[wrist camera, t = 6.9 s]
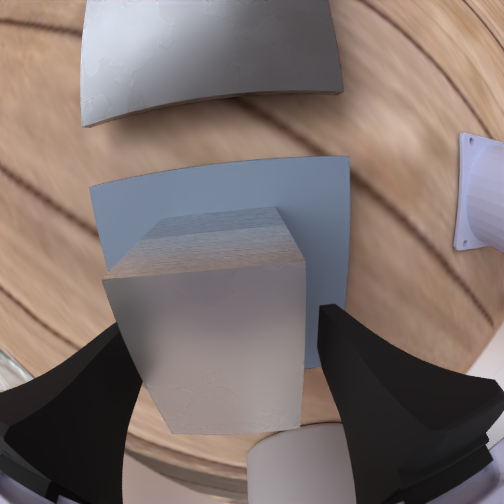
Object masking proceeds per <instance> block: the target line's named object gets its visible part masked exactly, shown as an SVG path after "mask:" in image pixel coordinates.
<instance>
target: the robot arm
mask: <svg viewBox="0 0 504 504" xmlns="http://www.w3.org/2000/svg"><path fill="white" fill-rule="evenodd" d="M459 144H460V179H459V198H458V211H457V220H456V229H455V236H454V244H453V246H454V248H455V249H456V250H458V251H462V250H468V249H475V248H481V247H487V246H491V247H493V248H495V249H497V250H498V251H500V252H502V253H503V254H504V143H502V142H499V141H495V140H492V139H488V138H485V137H481V136H477V135H473V134H469V133H461V134H460V137H459ZM463 243H464V244H463ZM317 350H318V354H319V358H320V362H321V366H322V370H323V372H324V375H325V378H326V380H327V383H328V385H329V388H330V391H331V393H332V396H333V398H334V401H335V404H336V406H337V409H338V411H339V414H340V417H341V421H342V424H343V428H344V433H345V437H346V441H347V446H348V451H349V456H350V461H351V467H352V473H353V479H354V487H355V495H356V504H504V438H502V439H501V440H500V441H499V442H497V443H496V444H495V445H494V446H493V447H492V448H490V449H489V450H488V449H487V447H486V445H485V444H487V443H488V442H489V438H488V436H487V434H486V432H487V431H488V430H489V429H490V427H491V426H492V425H493V424H494V423H495V421H496V420H497V419H498V418H499V417H500V415H501V414H502V412H503V411H504V391H503V390H502V389H501V387H500V386H499V385H498V383H497V382H496V381H495V380H493V379H487V378H481V377H475V376H469V375H465V374H461V373H457V372H454V371H450V370H447V369H444V368H441V367H438V366H436V365H433V364H431V363H428V362H425V361H423V360H421V359H419V358H416V357H414V356H412V355H410V354H408V353H406V352H404V351H403V350H401V349H399V348H397V347H395V346H393V345H392V344H390V343H389V342H387V341H385V340H384V339H382V338H381V337H379V336H378V335H376V334H375V333H373V332H372V331H370V330H369V329H368V328H366V327H365V326H364V325H362V324H361V323H360V322H358V321H357V320H356V319H354V318H353V317H352V316H350V315H349V314H348V313H347V312H345V311H344V310H343V309H341V308H340V307H339V306H338V305H336V304H335V303H334V304H327V305H320V306H319V319H318V336H317ZM142 382H143V381H142V379H141V376H140V374H139V372H138V370H137V368H136V366H135V364H134V362H133V360H132V357H131V355H130V353H129V351H128V348H127V346H126V344H125V341H124V339H123V337H122V334H121V332H120V329H119V327H118V324H117V322H116V323H114V324H113V325H111V326H110V327H109V328H107V329H106V330H105V331H103V332H102V333H101V334H100V335H98V336H97V337H96V338H94V339H93V340H92V341H91V342H89V343H88V344H87V345H86V346H84V347H83V348H82V349H80V350H79V351H78V352H76V353H75V354H74V355H72V356H71V357H70V358H68V359H67V360H66V361H64V362H63V363H61V364H60V365H58V366H56V367H55V368H53V369H52V370H50V371H48V372H47V373H45V374H43V375H41V376H39V377H37V378H35V379H33V380H31V381H29V382H27V383H25V384H22V385H20V386H17V387H15V388H12V389H9V390H6V391H3V392H0V453H1V454H0V504H123V498H122V468H123V457H124V448H125V442H126V435H127V430H128V426H129V422H130V419H131V416H132V412H133V409H134V406H135V403H136V400H137V397H138V394H139V391H140V388H141V385H142Z"/></svg>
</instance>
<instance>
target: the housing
mask: <svg viewBox="0 0 504 504" xmlns="http://www.w3.org/2000/svg"><path fill="white" fill-rule="evenodd" d="M102 282H103V285H104V288H105V291H106V294H107V297H108V300H109V303H110V306H111V309H112V311H113V314H114V317H115V319H116V322H117V324H118V327H119V329H120V332H121V334H122V337H123V339H124V341H125V344H126V346H127V348H128V351H129V353H130V355H131V357H132V360H133V362H134V364H135V366H136V368H137V370H138V372H139V374H140V376H141V379H142V381H143V383H144V384H145V386H146V388H147V390H148V392H149V394H150V396H151V398H152V400H153V402H154V403H155V405H156V407H157V409H158V411H159V412H160V414H161V416H162V418H163V419H164V421H165V423H166V424H167V426H168V428H169V429H170V431H171V432H172V434H190V435H232V434H251V433H264V432H274V431H283V430H291V429H298V428H300V422H301V409H302V395H303V378H304V356H305V325H306V260H305V259H304V257H303V255H302V253H301V251H300V250H299V248H298V246H297V244H296V242H295V241H294V239H293V237H292V235H291V234H290V232H289V230H288V228H287V227H286V225H285V223H284V221H283V220H282V218H281V216H280V214H279V213H278V211H277V209H276V208H275V206H272V207H261V208H250V209H240V210H230V211H220V212H211V213H202V214H194V215H186V216H178V217H170V218H162V219H161V220H160V221H159V222H158V223H157V224H156V225H155V226H154V227H153V228H151V229H150V230H149V231H148V232H147V233H146V234H145V235H144V236H143V237H142V238H141V239H140V240H139V241H138V242H137V243H136V244H135V245H134V246H133V247H132V248H131V249H130V250H129V251H128V252H127V253H126V254H125V255H124V256H123V257H122V258H121V259H120V260H119V261H118V262H117V263H116V264H115V265H114V267H113V268H112V269H111V270H110V271H109V272H108V273H107V274H106V275H105V276H104V277H103V278H102Z"/></svg>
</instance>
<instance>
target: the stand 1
mask: <svg viewBox="0 0 504 504" xmlns="http://www.w3.org/2000/svg"><path fill="white" fill-rule="evenodd" d="M80 92H81V119H82V127H87V128H91V127H94V126H97V125H100V124H103V123H106V122H110V121H113V120H116V119H120V118H124V117H127V116H131V115H135V114H139V113H143V112H147V111H151V110H156V109H161V108H165V107H170V106H176V105H181V104H187V103H193V102H199V101H206V100H213V99H221V98H230V97H241V96H253V95H270V94H331V95H339V94H341V93H343V92H344V89H343V81H342V73H341V66H340V60H339V54H338V48H337V42H336V37H335V31H334V26H333V22H332V17H331V12H330V8H329V4H328V0H87V6H86V12H85V20H84V28H83V38H82V51H81V77H80Z"/></svg>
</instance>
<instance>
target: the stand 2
mask: <svg viewBox="0 0 504 504" xmlns="http://www.w3.org/2000/svg"><path fill="white" fill-rule="evenodd" d="M89 189H90V195H91V200H92V205H93V210H94V215H95V220H96V225H97V229H98V233H99V237H100V241H101V245H102V249H103V253H104V257H105V260H106V264H107V268H108V271H110V270H111V269H112V268H113V267H114V265H115V264H116V263H117V262H118V261H119V260H120V259H121V258H122V257H123V256H124V255H125V254H126V253H127V252H128V251H129V250H130V249H131V248H132V247H133V246H134V245H135V244H136V243H137V242H138V241H139V240H140V239H141V238H142V237H143V236H144V235H145V234H146V233H147V232H148V231H149V230H150V229H151V228H153V227H154V226H155V225H156V224H157V223H158V222H159V221H160V220H161V219H162V218H170V217H178V216H186V215H194V214H202V213H211V212H220V211H230V210H240V209H250V208H261V207H272V206H275V208H276V209H277V211H278V213H279V214H280V216H281V218H282V220H283V221H284V223H285V225H286V227H287V228H288V230H289V232H290V234H291V235H292V237H293V239H294V241H295V242H296V244H297V246H298V248H299V250H300V251H301V253H302V255H303V257H304V259H305V260H306V325H305V356H304V369H310V368H316V367H322V366H321V362H320V358H319V354H318V350H317V336H318V319H319V306H320V305H327V304H334V303H335V304H336V305H338V306H339V307H340V308H341V309H343V310H344V311H345V303H346V292H347V279H348V264H349V242H350V166H349V156H308V157H286V158H271V159H258V160H246V161H236V162H226V163H218V164H210V165H202V166H195V167H188V168H181V169H174V170H168V171H162V172H157V173H151V174H146V175H140V176H135V177H130V178H125V179H121V180H116V181H111V182H107V183H103V184H98V185H95V186H92V187H89Z"/></svg>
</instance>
